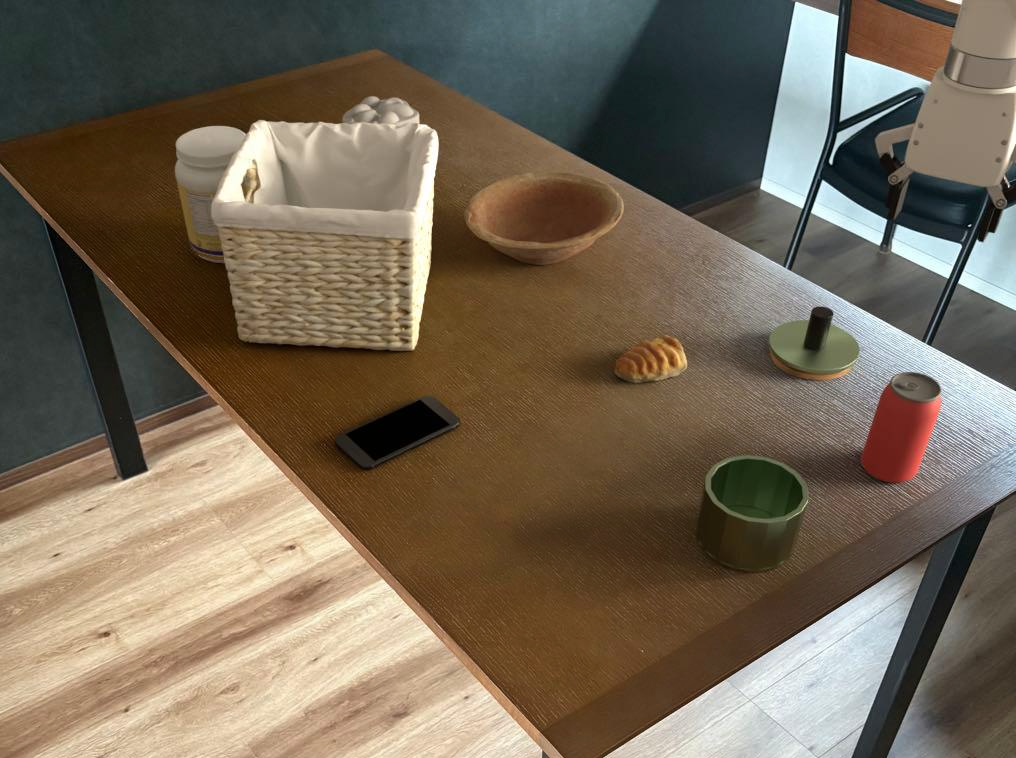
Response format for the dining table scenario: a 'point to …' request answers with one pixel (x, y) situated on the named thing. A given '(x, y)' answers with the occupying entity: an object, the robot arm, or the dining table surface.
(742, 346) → the dining table surface
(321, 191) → the basket
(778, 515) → the pot
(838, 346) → the pot lid
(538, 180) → the bowl
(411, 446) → the smartphone
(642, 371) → the pastry
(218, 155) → the supplement tub
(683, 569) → the dining table surface
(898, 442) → the beer can
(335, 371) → the dining table surface
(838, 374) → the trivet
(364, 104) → the lumpy-topped squat cylinder
